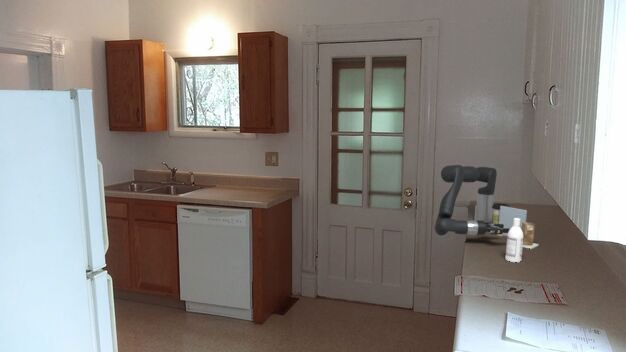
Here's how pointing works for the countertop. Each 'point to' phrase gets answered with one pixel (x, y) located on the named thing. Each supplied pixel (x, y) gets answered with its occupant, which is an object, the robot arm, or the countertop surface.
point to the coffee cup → (497, 211)
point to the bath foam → (514, 242)
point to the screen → (511, 217)
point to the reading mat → (530, 246)
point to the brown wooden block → (528, 233)
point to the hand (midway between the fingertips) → (506, 228)
